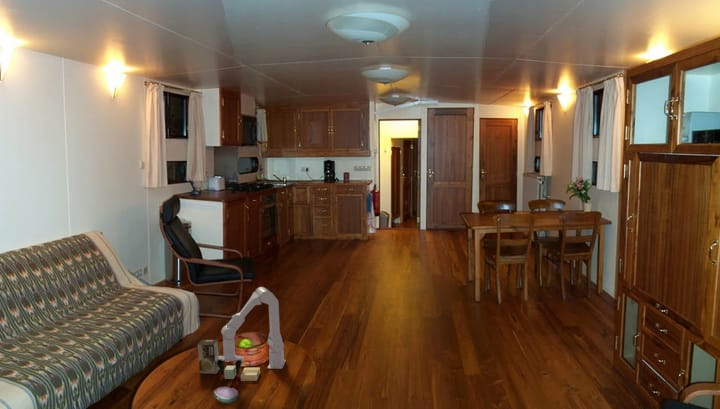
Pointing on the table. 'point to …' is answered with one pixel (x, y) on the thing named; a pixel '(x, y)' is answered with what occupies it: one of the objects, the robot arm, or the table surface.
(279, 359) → the robot arm
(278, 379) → the table surface
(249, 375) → the birch block
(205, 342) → the coffee box
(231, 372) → the pale grey cube
